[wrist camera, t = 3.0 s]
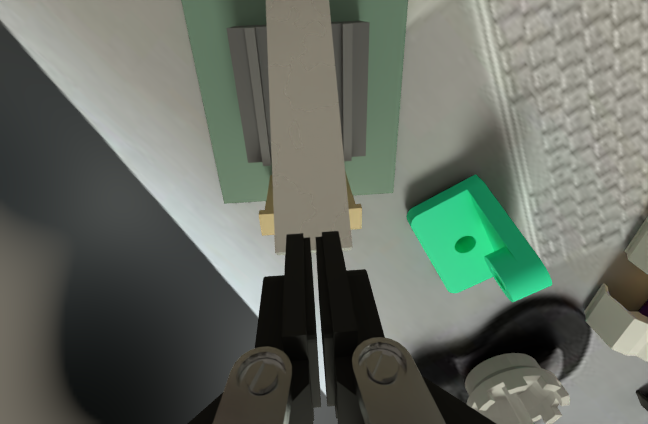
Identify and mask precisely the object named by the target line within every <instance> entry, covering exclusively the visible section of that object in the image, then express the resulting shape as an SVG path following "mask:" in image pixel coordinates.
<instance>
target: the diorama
mask: <svg viewBox="0 0 648 424" xmlns="http://www.w3.org/2000/svg"><path fill="white" fill-rule="evenodd" d="M624 252H626V253H627V258H628V260H629V261H630V262H632V263H633V264H634V265H636V266H637V267H638V268H640V269H641V270H642V271H644V272H645V273H646V274H648V217H647V218H646V220H645V221H644V223H643V224H642V226H641V227H640V229H639V230H638V232H637V233H636V235H635V236H634V238H633V239H632V241H631V242H630V244H629V245H628V247H627V248H626V250H625V251H624ZM584 313H585V314H586V322H587V323H588V324H589V325H590V327H591V328H592V329H593V330H594V331H595V332H596V333H597V334H598V335H599V336H600V337H601V338H602V339H603V340H604V342H605V343H606V344H607V345H608V346H609V347H610V348H611V349H613V350H615V351H617V352H620V353H622V354H624V355H626V356H638V357H639V358H641V359H643V360H645V361H647V362H648V300H647V301H646V303H645V304H644V305H643V306H642V308H641V309H640V310H639V312H636V311H628V310H627V309H626V308H624V307H623V306H622V305H621V304H620V303H619V302H617V300H616V299H613V298H612V297H611V296H610V294H609V291H608V287H607V286H606V285H605V284H602V286H601V287H600V289H599V290H598V292H597V293H596V295H595V296H594V298H593V299H592V301H591V302H590V304H589V305H588V307H587V308H586V310H585V311H584Z"/></svg>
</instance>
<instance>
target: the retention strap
mask: <svg viewBox="0 0 648 424" xmlns="http://www.w3.org/2000/svg"><path fill="white" fill-rule="evenodd" d="M266 23H267V49H268V75H269V101H270V127H271V154H272V180H273V206H274V232H275V253H276V254H277V255H285V253H286V235H287V234H299V233H303V235H304V238H306V237H310V243H311V253H316V238H315V237H321V236H322V232H329V231H339V236H340V241H341V246H342V251H348V250H351V249H352V239H351V228H350V218H349V207H348V196H347V186H346V175H345V165H344V154H343V144H342V133H341V122H340V112H339V101H338V91H337V80H336V70H335V59H334V48H333V38H332V27H331V17H330V6H329V0H266Z"/></svg>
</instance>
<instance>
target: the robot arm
mask: <svg viewBox="0 0 648 424" xmlns="http://www.w3.org/2000/svg"><path fill="white" fill-rule="evenodd" d="M315 238H316V255H317V273H318V290H319V306H320V319H321V331H322V344H323V357H324V369H325V382H326V395H327V406H335V411H336V418H338V424H496V423H495V422H493V421H492V420H490V419H489V418H487V417H485V416H484V415H482V414H481V413H479V412H478V411H476V410H474V409H473V408H471V407H470V406H468V405H467V404H465V403H464V402H462V401H460V400H459V399H457V398H456V397H454V396H453V395H451V394H449V393H448V392H446V391H445V390H443V389H442V388H440V387H439V386H437V385H435V384H434V383H432V382H431V381H429V380H428V379H426V378H425V377H423V376H421V374H420V372H419V370H418V368H417V366H416V364H415V362H414V360H413V358H412V356H411V355H410V353H409V352H408V351H407V349H406V348H405V347H403V346H402V345H401V344H400V343H398V342H396V341H394V340H392V339H388V338H385V337H384V333H383V329H382V326H381V322H380V318H379V315H378V311H377V307H376V304H375V300H374V296H373V293H372V289H371V285H370V282H369V278H368V274H367V271H366V270H365V269H364V270H350V271H346V267H345V262H344V257H343V252H342V246H341V241H340V236H339V231H329V232H322V236H321V237H315ZM314 407H321V398H320V382H319V366H318V350H317V334H316V318H315V302H314V287H313V273H312V258H311V243H310V237H306V238H304V235H303V233H299V234H287V235H286V253H285V275H282V276H268V277H264V279H263V286H262V294H261V302H260V310H259V319H258V327H257V335H256V343H255V349H252V350H250V351H248V352H247V353H245V354H244V355H242V356H241V357H240V358H239V359H238V360H237V361H236V362H235V364H234V366H233V368H232V370H231V372H230V375H229V378H228V381H227V384H226V386H225V389H224V392H223V393H222V394H221V395H220V396H219V397H218V398H216V399H215V400H214V401H213V402H212V403H211V404H209V405H208V406H207V407H206V408H205V409H204V410H203V411H201V412H200V413H199V414H198V415H197V416H196V417H195V418H194V419H193V420H191V421H190V422H189V423H188V424H313V421H314V409H313V408H314Z"/></svg>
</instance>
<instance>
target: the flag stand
mask: <svg viewBox="0 0 648 424" xmlns="http://www.w3.org/2000/svg"><path fill="white" fill-rule="evenodd" d="M465 387H466V390H467V392H468V394H469V398H468V401H467V405H468V406H470V407H471V408H473V409H474V410H476V411H478V412H479V413H481V414H482V415H484V416H485V417H487V418H489V419H490V420H492V421H493V422H495V423H496V424H534V422H535V421H537V420H539V419H541V418H543V420H544V422H545V423H546V424H552V423H553V422H555V421H556V420H557V419H559V418H560V417H561V416H562V414H561V413H560V411H559V410H558V408H557V406H558V405H559V404H560V405H561V406H565V405H569V404H570V396H569V394H568V393H567V391H566V390H565V388H564V387H563V386H562V384H561V383H560V381H559V380H558V379H557V377H556V376H555V375H554V374H553V373H552V372H550V371H548V370H545V369H541V367H540V366H539V364H538V363H537V362H536V360H535V359H534V358H532V357H531V356H529V355H526V354H521V353H509V354H502V355H498V356H495V357H492V358H489V359H487V360H485V361H483V362H482V363H480V364H479V365H477V366H476V367H475V368H474V369H472V370H471V372H470V373H469V374H468V376H467V378H466V381H465Z"/></svg>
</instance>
